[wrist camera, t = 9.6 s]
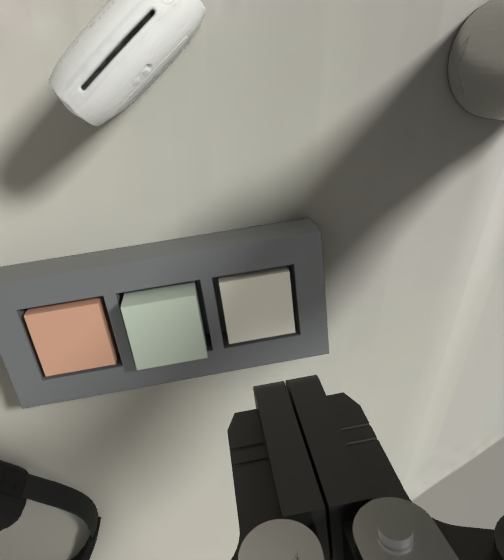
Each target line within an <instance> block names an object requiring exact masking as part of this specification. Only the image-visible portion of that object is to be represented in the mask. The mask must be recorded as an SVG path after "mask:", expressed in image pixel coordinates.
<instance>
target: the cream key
mask: <svg viewBox="0 0 504 560" xmlns="http://www.w3.org/2000/svg"><path fill="white" fill-rule="evenodd" d="M218 281H219V287H220V293H221V299H222V305H223V311H224V317H225V323H226V329H227V335H228V340H229V344H233V343H238V342H244V341H250V340H255V339H261V338H267V337H272V336H278V335H284V334H289V333H295V323H294V313H293V303H292V293H291V282H290V272H289V270H288V268H287V266H286V265H285V266H279V267H273V268H267V269H261V270H255V271H249V272H243V273H237V274H231V275H225V276H219V277H218Z"/></svg>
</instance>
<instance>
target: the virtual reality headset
mask: <svg viewBox="0 0 504 560" xmlns="http://www.w3.org/2000/svg"><path fill="white" fill-rule="evenodd" d="M27 499H30V500H33V501H36V502H40V503H43V504H47V505H50V506H53V507H57V508H60V509H63V510H65V511H68V512H70V513H73V514H75V515H77V516H78V517H80V518H81V519H83V520H84V521H85V522H86V524H87V525H88V527H89V529H90V532H91V535H90V537H89V539H88V541H87V543H86V544H85V546H84V547H83V548H82V550H81V551H80V552H79V553H78V554H77V555H76V556H75V557H74V558H73V559H71V560H89V559H90V557H91V554H92V551H93V549H94V546H95V543H96V540H97V536H98V531H99V526H100V520H101V517H98V512H97V509H96V506H95V504H94V503H93V501H92V500H91V499H90V498H89V497H87V496H86V495H85V494H83V493H81V492H79V491H77V490H75V489H73V488H71V487H68V486H65V485H62V484H59V483H57V482H53V481H50V480H47V479H43V478H40V477H37V476H33V475H30V474H28V472H27V471H26V470H25V469H23V468H21V467H19V466H16V465H13V464H10V463H7V462H4V461H2V460H0V531H1V530H3V529H5V528H7V527H9V526H11V525H12V524H14V523H15V522H16V521H17V520H18V519H19V517H20V516H21V514H22V511H23V509H24V507H25V504H26V500H27Z"/></svg>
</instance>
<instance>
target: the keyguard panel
mask: <svg viewBox="0 0 504 560" xmlns="http://www.w3.org/2000/svg"><path fill="white" fill-rule="evenodd" d="M285 265H286V266H287V268H288V270H289V272H290V282H291V293H292V303H293V313H294V323H295V333H289V334H284V335H278V336H272V337H267V338H261V339H255V340H250V341H244V342H238V343H233V344H229V340H228V335H227V329H226V323H225V317H224V311H223V305H222V299H221V293H220V287H219V281H218V277H219V276H225V275H231V274H237V273H243V272H249V271H255V270H261V269H267V268H273V267H279V266H285ZM193 281H195V285H196V290H197V295H198V301H199V306H200V311H201V316H202V322H203V327H204V332H205V338H206V345H207V357H208V358H204V359H198V360H192V361H187V362H181V363H175V364H170V365H164V366H159V367H153V368H147V369H142V370H137V368H136V364H135V360H134V357H133V353H132V349H131V345H130V342H129V338H128V334H127V330H126V327H125V323H124V319H123V315H122V312H121V304H122V300H123V296H124V293H127V292H133V291H139V290H145V289H151V288H157V287H163V286H169V285H175V284H181V283H187V282H193ZM98 296H104V300H105V304H106V307H107V311H108V314H109V318H110V321H111V325H112V329H113V332H114V336H115V339H116V343H117V346H118V350H119V352H118V356H117V361H116V364H114V365H108V366H103V367H97V368H91V369H86V370H80V371H74V372H69V373H63V374H57V375H52V376H45V373H44V370H43V368H42V365H41V362H40V359H39V357H38V354H37V351H36V348H35V346H34V343H33V340H32V337H31V335H30V332H29V329H28V326H27V324H26V321H25V318H24V314H25V313H26V311H27V310H28V308H32V307H38V306H44V305H50V304H56V303H62V302H68V301H74V300H80V299H86V298H92V297H98ZM323 354H329V343H328V328H327V312H326V297H325V282H324V266H323V251H322V236H321V231H320V229H319V228H318V227H317V226H316V225H315V223H314V222H313V221H312V220H311V219H310V218H305V219H298V220H292V221H286V222H280V223H273V224H267V225H261V226H254V227H248V228H242V229H236V230H229V231H223V232H217V233H210V234H204V235H198V236H192V237H185V238H179V239H173V240H166V241H160V242H154V243H148V244H141V245H135V246H129V247H122V248H116V249H110V250H104V251H97V252H91V253H85V254H78V255H72V256H66V257H60V258H53V259H47V260H41V261H34V262H28V263H22V264H16V265H9V266H3V267H0V355H1V357H2V360H3V362H4V365H5V367H6V369H7V372H8V374H9V377H10V379H11V382H12V384H13V387H14V389H15V392H16V394H17V397H18V399H19V402H20V404H21V407H22V409H23V408H29V407H34V406H40V405H45V404H51V403H56V402H62V401H68V400H73V399H79V398H84V397H90V396H95V395H101V394H106V393H112V392H118V391H123V390H129V389H134V388H140V387H145V386H151V385H156V384H162V383H168V382H173V381H179V380H184V379H190V378H195V377H201V376H206V375H212V374H218V373H223V372H229V371H234V370H240V369H245V368H251V367H256V366H262V365H267V364H273V363H279V362H284V361H290V360H295V359H301V358H306V357H312V356H317V355H323Z"/></svg>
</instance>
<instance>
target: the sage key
mask: <svg viewBox="0 0 504 560" xmlns="http://www.w3.org/2000/svg"><path fill="white" fill-rule="evenodd" d="M121 312H122V315H123V319H124V323H125V327H126V330H127V334H128V338H129V342H130V345H131V349H132V353H133V357H134V360H135V364H136V368H137V370H142V369H147V368H153V367H159V366H164V365H170V364H175V363H181V362H187V361H192V360H198V359H204V358H208V357H207V345H206V338H205V332H204V327H203V322H202V316H201V311H200V306H199V301H198V295H197V290H196V285H195V281H193V282H187V283H181V284H175V285H169V286H163V287H157V288H151V289H145V290H139V291H133V292H127V293H124V296H123V300H122V304H121Z"/></svg>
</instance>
